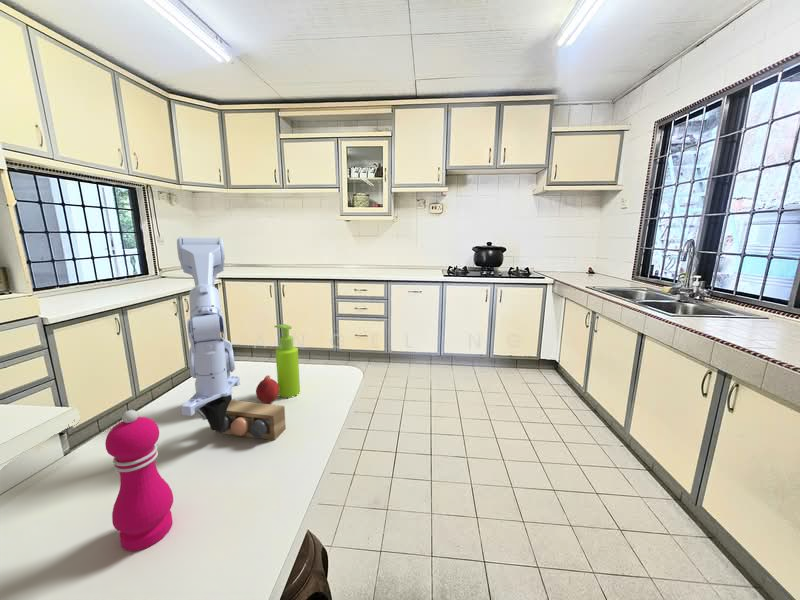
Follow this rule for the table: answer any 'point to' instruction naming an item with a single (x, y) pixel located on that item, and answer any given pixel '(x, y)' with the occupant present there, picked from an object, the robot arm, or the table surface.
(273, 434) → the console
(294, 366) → the soap dispenser
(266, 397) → the onion
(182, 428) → the table surface
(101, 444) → the table surface
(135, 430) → the pepper mill
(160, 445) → the table surface
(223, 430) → the knob
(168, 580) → the table surface
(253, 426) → the knob
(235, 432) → the knob middle
